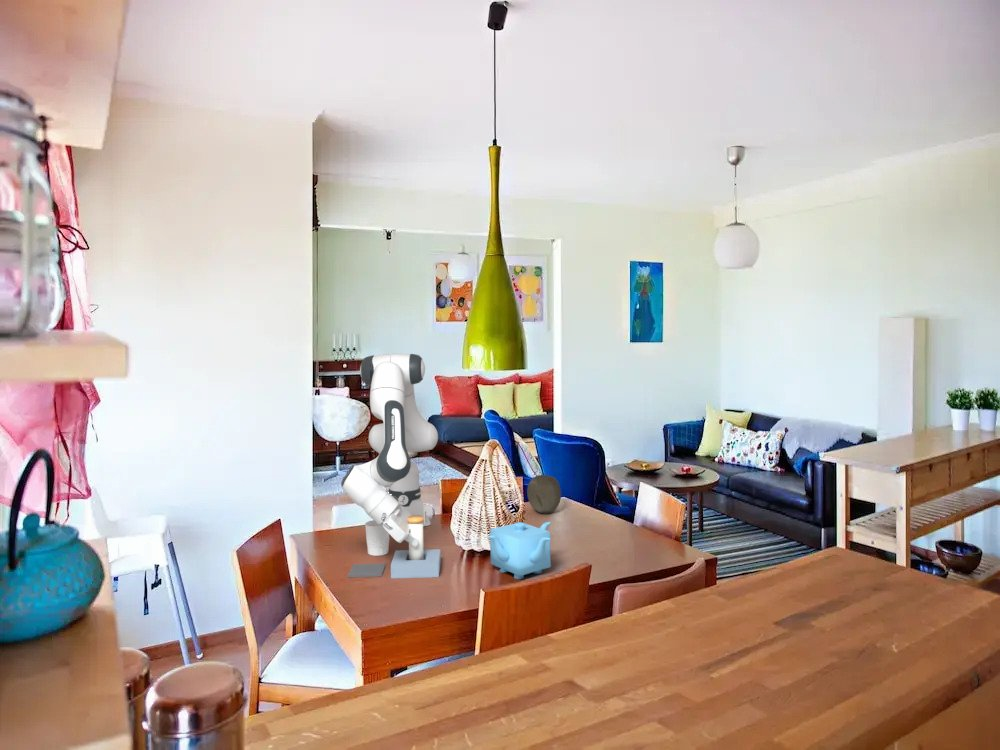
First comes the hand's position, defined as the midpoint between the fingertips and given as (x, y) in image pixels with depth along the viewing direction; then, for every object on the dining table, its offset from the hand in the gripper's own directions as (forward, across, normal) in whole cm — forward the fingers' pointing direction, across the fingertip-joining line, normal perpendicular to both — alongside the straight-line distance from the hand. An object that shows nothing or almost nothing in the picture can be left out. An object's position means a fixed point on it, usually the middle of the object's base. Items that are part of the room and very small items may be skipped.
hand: (418, 541), depth 211 cm
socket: (+6, 0, +7) cm, 9 cm away
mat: (-5, 0, +17) cm, 18 cm away
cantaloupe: (+39, +64, -26) cm, 79 cm away
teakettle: (+29, -5, -16) cm, 33 cm away
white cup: (-4, +18, +17) cm, 25 cm away
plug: (+6, 0, +7) cm, 9 cm away
